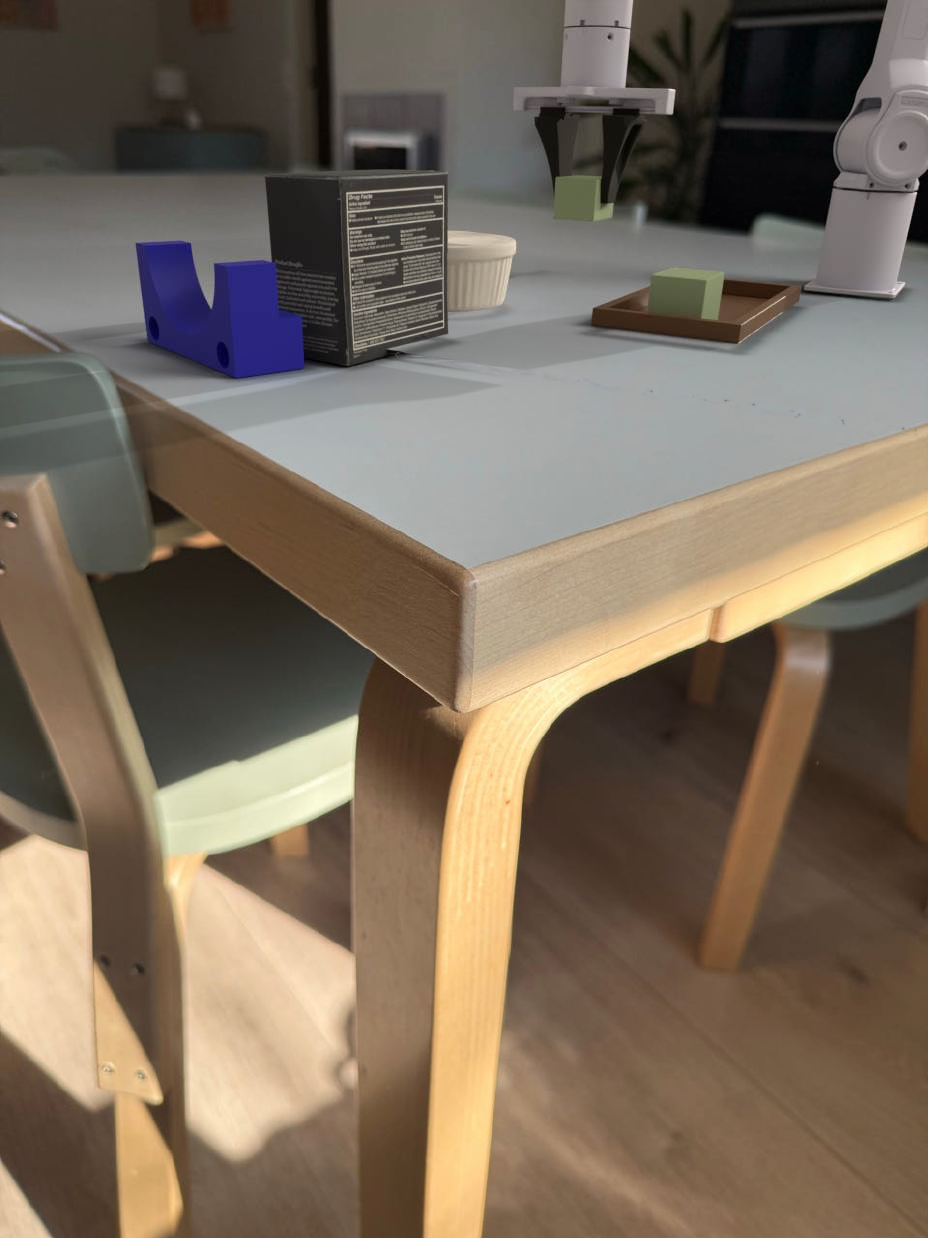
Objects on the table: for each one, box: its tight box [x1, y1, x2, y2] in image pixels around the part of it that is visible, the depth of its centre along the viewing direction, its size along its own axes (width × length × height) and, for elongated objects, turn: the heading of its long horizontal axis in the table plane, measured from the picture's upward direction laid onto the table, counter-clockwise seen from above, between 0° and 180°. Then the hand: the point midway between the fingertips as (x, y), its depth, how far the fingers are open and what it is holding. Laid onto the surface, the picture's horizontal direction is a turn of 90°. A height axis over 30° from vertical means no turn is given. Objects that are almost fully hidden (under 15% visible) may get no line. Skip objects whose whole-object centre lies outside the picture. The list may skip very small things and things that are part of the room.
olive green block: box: [552, 174, 615, 222], centre depth 88 cm, size 5×4×4 cm
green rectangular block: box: [647, 266, 726, 320], centre depth 69 cm, size 5×4×4 cm
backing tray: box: [590, 277, 802, 345], centre depth 74 cm, size 22×11×2 cm, turn 152°
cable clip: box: [135, 240, 305, 379], centre depth 58 cm, size 12×4×6 cm, turn 40°
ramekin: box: [447, 230, 517, 312], centre depth 75 cm, size 11×11×5 cm
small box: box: [264, 169, 449, 367], centre depth 60 cm, size 11×6×10 cm, turn 145°
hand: (583, 201), depth 88 cm, fingers closed on olive green block, 4 cm apart
